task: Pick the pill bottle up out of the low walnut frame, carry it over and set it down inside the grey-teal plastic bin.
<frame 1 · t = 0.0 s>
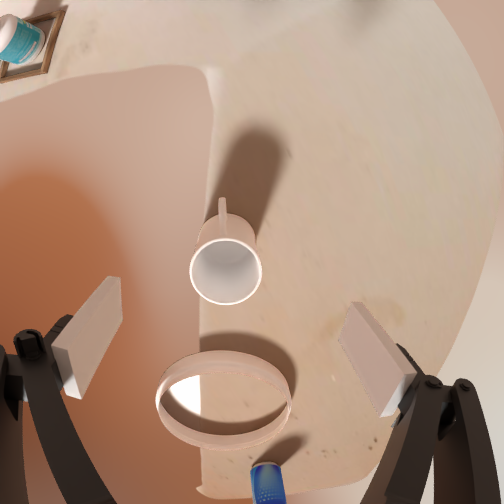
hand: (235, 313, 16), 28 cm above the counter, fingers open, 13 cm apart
mug: (226, 230, 43), on the counter
pill bottle: (31, 47, 29), resting in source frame
white hollow ring: (223, 398, 55), on the counter
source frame: (30, 47, 29), on the counter
beer can: (264, 466, 65), on the counter
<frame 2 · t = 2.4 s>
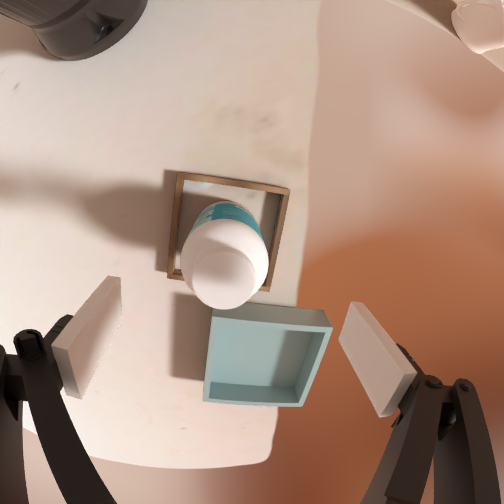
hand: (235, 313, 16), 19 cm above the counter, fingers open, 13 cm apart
mug: (461, 26, 25), on the counter
pill bottle: (225, 231, 34), resting in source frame
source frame: (225, 231, 34), on the counter
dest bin: (260, 349, 40), on the counter
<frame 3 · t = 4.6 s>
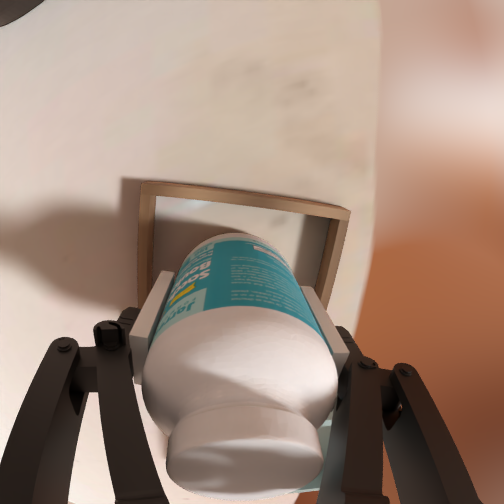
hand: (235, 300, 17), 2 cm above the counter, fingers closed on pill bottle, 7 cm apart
pill bottle: (234, 283, 19), resting in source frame, touching gripper
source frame: (234, 284, 19), on the counter
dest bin: (286, 432, 25), on the counter
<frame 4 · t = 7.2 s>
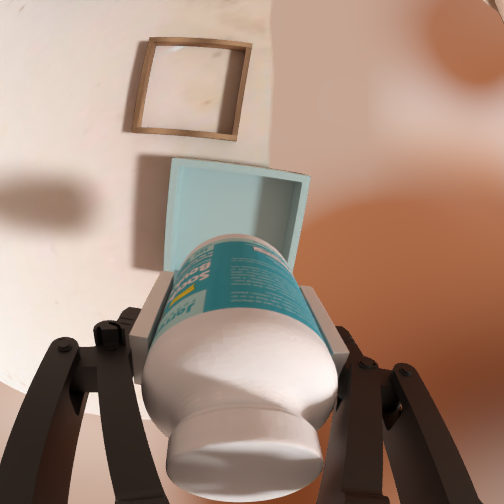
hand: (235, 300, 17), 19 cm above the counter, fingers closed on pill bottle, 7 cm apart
pill bottle: (234, 284, 19), point 17 cm above the counter, touching gripper
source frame: (192, 86, 30), on the counter
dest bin: (232, 224, 35), on the counter
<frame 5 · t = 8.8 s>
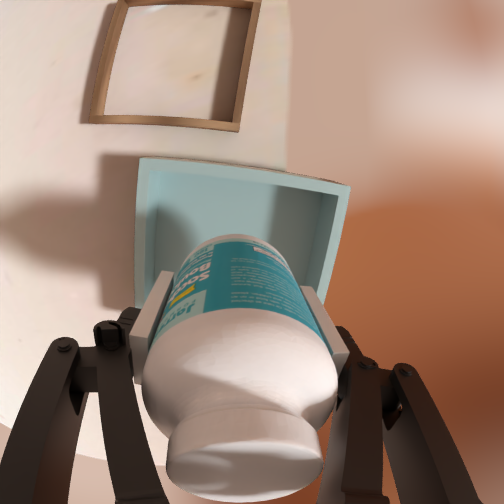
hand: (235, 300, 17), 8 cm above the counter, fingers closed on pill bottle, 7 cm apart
pill bottle: (234, 284, 19), point 6 cm above the counter, touching gripper
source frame: (175, 56, 19), on the counter
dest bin: (232, 252, 25), on the counter
when the fingers open (5 cm above the counter, at t = 9.8 s): pill bottle drops 2 cm, resting on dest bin.
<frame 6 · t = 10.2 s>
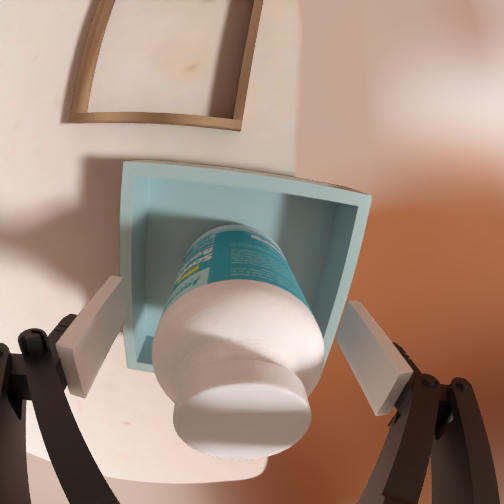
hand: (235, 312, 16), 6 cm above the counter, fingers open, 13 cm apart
pill bottle: (233, 271, 21), point 1 cm above the counter, touching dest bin
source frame: (167, 45, 16), on the counter
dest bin: (233, 268, 22), on the counter
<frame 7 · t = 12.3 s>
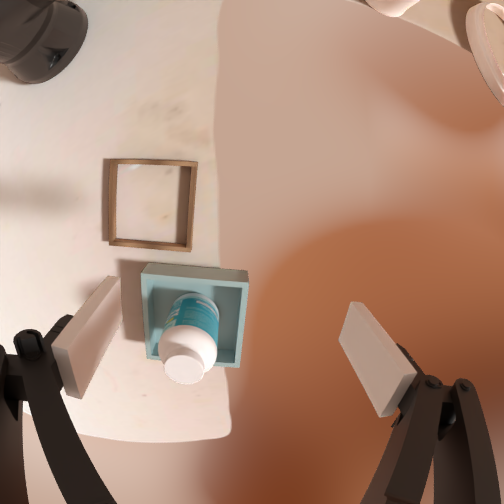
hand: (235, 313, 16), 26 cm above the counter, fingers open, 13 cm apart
pill bottle: (195, 312, 44), point 1 cm above the counter, touching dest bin
white hollow ring: (503, 58, 33), on the counter
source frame: (151, 203, 39), on the counter
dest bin: (195, 310, 44), on the counter
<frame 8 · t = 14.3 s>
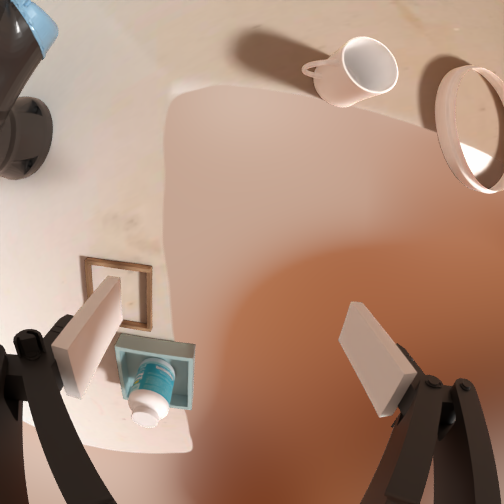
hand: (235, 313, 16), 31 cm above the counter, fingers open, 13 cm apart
mug: (328, 81, 39), on the counter
pill bottle: (157, 369, 53), point 1 cm above the counter, touching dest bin
white hollow ring: (477, 128, 43), on the counter
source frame: (119, 293, 48), on the counter
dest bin: (158, 367, 54), on the counter
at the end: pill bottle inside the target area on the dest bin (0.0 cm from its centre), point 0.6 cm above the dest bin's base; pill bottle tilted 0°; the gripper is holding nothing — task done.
